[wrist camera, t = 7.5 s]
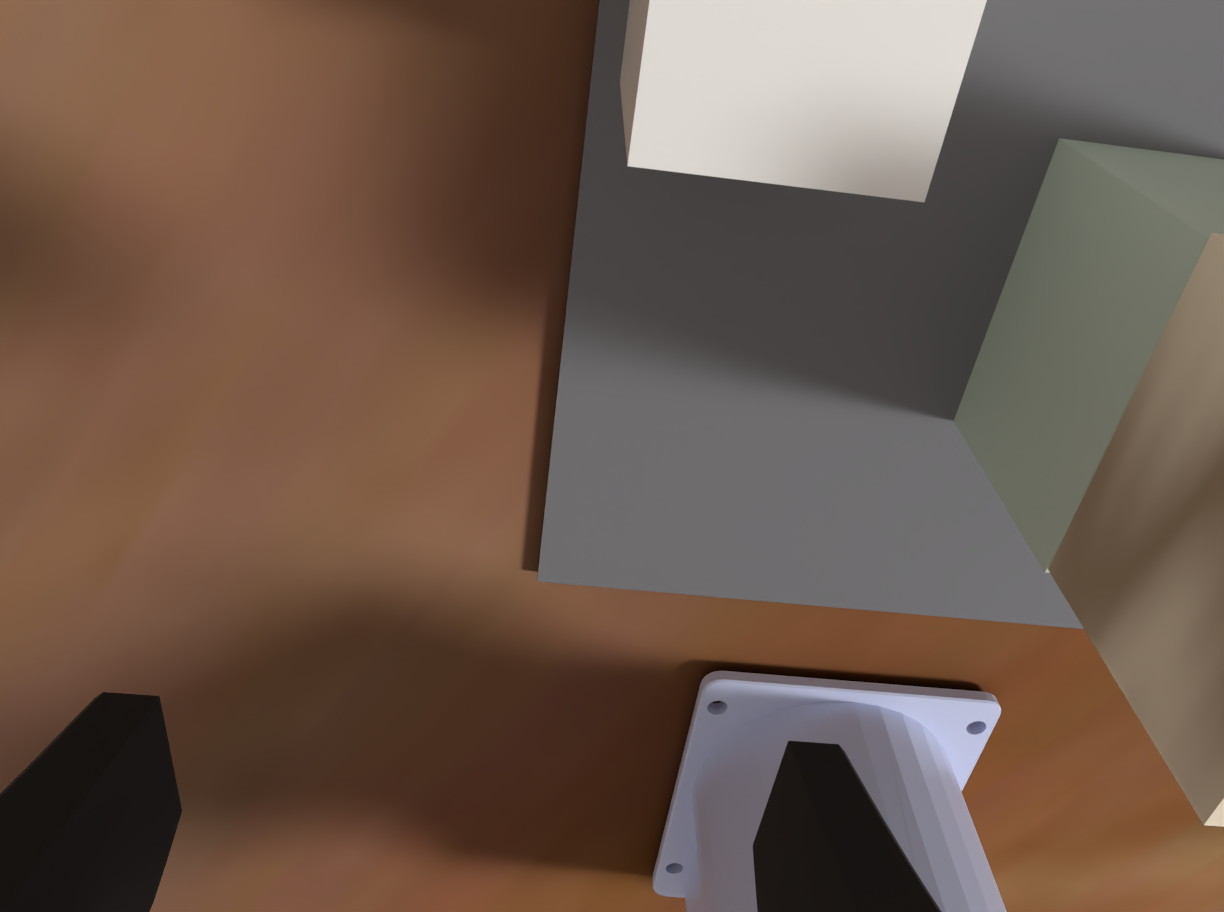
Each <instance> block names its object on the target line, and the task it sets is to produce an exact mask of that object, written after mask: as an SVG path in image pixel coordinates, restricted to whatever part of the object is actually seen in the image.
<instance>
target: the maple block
mask: <svg viewBox="0 0 1224 912" xmlns="http://www.w3.org/2000/svg"><path fill="white" fill-rule="evenodd" d="M1048 570H1049V572H1050V574H1051V575H1052V577H1053V579H1054V580H1055V582H1056V584H1057V585H1058V587H1059V589H1060V590H1061V592H1062V593H1063V595H1064V597H1065V598H1066V600H1067V602H1068V603H1069V605H1070V607H1071V608H1072V610H1073V612H1074V613H1075V615H1076V616H1077V618H1078V620H1079V621H1080V623H1081V625H1082V626H1083V628H1084V630H1085V631H1086V633H1087V635H1088V636H1089V638H1090V639H1091V641H1092V643H1093V644H1094V646H1095V648H1096V649H1097V651H1098V653H1099V654H1100V656H1101V657H1102V659H1103V661H1104V662H1105V664H1106V666H1107V667H1108V669H1109V671H1110V672H1111V674H1112V676H1113V677H1114V679H1115V680H1116V682H1117V684H1118V685H1119V687H1120V689H1121V690H1122V692H1123V694H1124V695H1125V697H1126V699H1127V700H1128V702H1129V703H1130V705H1131V707H1132V708H1133V710H1134V712H1135V713H1136V715H1137V717H1138V718H1139V720H1140V721H1141V723H1142V725H1143V726H1144V728H1145V730H1146V731H1147V733H1148V735H1149V736H1150V738H1151V740H1152V741H1153V743H1154V744H1155V746H1156V748H1157V749H1158V751H1159V753H1160V754H1161V756H1162V758H1163V759H1164V761H1165V763H1166V764H1167V766H1168V767H1169V769H1170V771H1171V772H1172V774H1173V776H1174V777H1175V779H1176V781H1177V782H1178V784H1179V786H1180V787H1181V789H1182V790H1183V792H1184V794H1185V795H1186V797H1187V799H1188V800H1189V802H1190V804H1191V805H1192V807H1193V808H1194V810H1195V812H1196V813H1197V815H1198V817H1199V818H1200V820H1201V822H1202V823H1203V825H1209V826H1223V827H1224V234H1218V233H1211V235H1210V237H1209V239H1208V242H1207V244H1206V246H1205V248H1204V250H1203V252H1202V254H1201V256H1200V258H1199V260H1198V262H1197V264H1196V266H1195V268H1194V270H1193V272H1192V274H1191V276H1190V279H1189V281H1188V283H1187V285H1186V287H1185V289H1184V291H1183V293H1182V295H1181V297H1180V299H1179V301H1178V303H1177V305H1176V307H1175V309H1174V311H1173V314H1172V316H1171V318H1170V320H1169V322H1168V324H1167V326H1166V328H1165V330H1164V332H1163V334H1162V336H1161V338H1160V340H1159V342H1158V344H1157V346H1156V349H1155V351H1154V353H1153V355H1152V357H1151V359H1150V361H1149V363H1148V365H1147V367H1146V369H1145V371H1144V373H1143V375H1142V377H1141V379H1140V381H1139V384H1138V386H1137V388H1136V390H1135V392H1134V394H1133V396H1132V398H1131V400H1130V402H1129V404H1128V406H1127V408H1126V410H1125V412H1124V414H1123V416H1122V418H1121V421H1120V423H1119V425H1118V427H1117V429H1116V431H1115V433H1114V435H1113V437H1112V439H1111V441H1110V443H1109V445H1108V447H1107V449H1106V451H1105V453H1104V456H1103V458H1102V460H1101V462H1100V464H1099V466H1098V468H1097V470H1096V472H1095V474H1094V476H1093V478H1092V480H1091V482H1090V484H1089V486H1088V488H1087V491H1086V493H1085V495H1084V497H1083V499H1082V501H1081V503H1080V505H1079V507H1078V509H1077V511H1076V513H1075V515H1074V517H1073V519H1072V521H1071V523H1070V526H1069V528H1068V530H1067V532H1066V534H1065V536H1064V538H1063V540H1062V542H1061V544H1060V546H1059V548H1058V550H1057V552H1056V554H1055V556H1054V558H1053V561H1052V563H1051V565H1050V567H1049V569H1048Z"/></svg>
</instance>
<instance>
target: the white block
mask: <svg viewBox="0 0 1224 912" xmlns="http://www.w3.org/2000/svg"><path fill="white" fill-rule="evenodd" d="M986 2H987V0H630V3H629V12H628V20H627V28H626V36H625V44H624V52H623V60H622V68H621V76H620V89H621V100H622V111H623V122H624V134H625V145H626V156H627V166H630V167H638V168H646V169H654V170H663V171H671V172H679V173H687V174H696V175H704V176H712V177H720V178H728V179H737V180H745V181H753V182H761V183H769V184H778V185H786V186H794V187H802V188H810V189H819V190H827V191H835V192H843V193H851V194H860V195H868V196H876V197H884V198H892V199H901V200H909V201H917V202H925V199H926V196H927V192H928V189H929V186H930V183H931V179H932V176H933V173H934V170H935V166H936V163H937V160H938V157H939V154H940V150H941V147H942V144H943V141H944V137H945V134H946V131H947V128H948V124H949V121H950V118H951V115H952V111H953V108H954V105H955V102H956V99H957V95H958V92H959V89H960V86H961V82H962V79H963V76H964V73H965V69H966V66H967V63H968V60H969V57H970V53H971V50H972V47H973V44H974V40H975V37H976V34H977V31H978V27H979V24H980V21H981V18H982V14H983V11H984V8H985V5H986Z"/></svg>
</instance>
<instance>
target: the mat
mask: <svg viewBox="0 0 1224 912" xmlns="http://www.w3.org/2000/svg"><path fill="white" fill-rule="evenodd" d="M629 3H630V0H599V8H598V17H597V27H596V36H595V45H594V54H593V64H592V73H591V82H590V92H589V101H588V110H587V120H586V129H585V138H584V148H583V157H582V166H581V176H580V185H579V194H578V203H577V213H576V222H575V231H574V241H573V250H572V259H571V269H570V278H569V287H568V297H567V306H566V315H565V325H564V334H563V343H562V352H561V362H560V371H559V380H558V390H557V399H556V408H555V418H554V427H553V436H552V446H551V455H550V464H549V473H548V483H547V492H546V501H545V511H544V520H543V529H542V539H541V548H540V557H539V567H538V577H537V581H538V582H549V583H561V584H573V585H584V586H596V587H607V588H619V589H630V590H642V591H653V592H665V593H676V594H688V595H699V596H711V597H722V598H734V599H745V600H757V601H768V602H780V603H792V604H803V605H815V606H826V607H838V608H849V609H861V610H872V611H884V612H895V613H907V614H918V615H930V616H941V617H953V618H964V619H976V620H988V621H999V622H1011V623H1022V624H1034V625H1045V626H1057V627H1068V628H1080V629H1084V628H1083V626H1082V625H1081V623H1080V621H1079V620H1078V618H1077V616H1076V615H1075V613H1074V612H1073V610H1072V608H1071V607H1070V605H1069V603H1068V602H1067V600H1066V598H1065V597H1064V595H1063V593H1062V592H1061V590H1060V589H1059V587H1058V585H1057V584H1056V582H1055V580H1054V579H1053V577H1052V575H1051V574H1050V573H1046V572H1044V570H1043V569H1042V567H1041V565H1040V564H1039V562H1038V560H1037V559H1036V557H1035V555H1034V554H1033V552H1032V550H1031V549H1030V547H1029V545H1028V544H1027V542H1026V540H1025V539H1024V537H1023V535H1022V534H1021V532H1020V530H1019V529H1018V527H1017V525H1016V524H1015V522H1014V520H1013V519H1012V517H1011V515H1010V514H1009V512H1008V511H1007V509H1006V507H1005V506H1004V504H1003V502H1002V501H1001V499H1000V497H999V496H998V494H997V492H996V491H995V489H994V487H993V486H992V484H991V482H990V481H989V479H988V477H987V476H986V474H985V472H984V471H983V469H982V467H981V466H980V464H979V462H978V461H977V459H976V457H975V456H974V454H973V452H972V451H971V449H970V447H969V446H968V444H967V442H966V441H965V439H964V438H963V436H962V434H961V433H960V431H959V429H958V428H957V426H956V424H955V423H954V418H955V416H956V413H957V410H958V408H959V405H960V402H961V400H962V397H963V394H964V392H965V389H966V386H967V384H968V381H969V378H970V376H971V373H972V370H973V368H974V365H975V362H976V360H977V357H978V354H979V352H980V349H981V346H982V344H983V341H984V338H985V336H986V333H987V330H988V328H989V325H990V322H991V319H992V317H993V314H994V311H995V309H996V306H997V303H998V301H999V298H1000V295H1001V293H1002V290H1003V287H1004V285H1005V282H1006V279H1007V277H1008V274H1009V271H1010V269H1011V266H1012V263H1013V261H1014V258H1015V255H1016V253H1017V250H1018V247H1019V245H1020V242H1021V239H1022V237H1023V234H1024V231H1025V229H1026V226H1027V223H1028V220H1029V218H1030V215H1031V212H1032V210H1033V207H1034V204H1035V202H1036V199H1037V196H1038V194H1039V191H1040V188H1041V186H1042V183H1043V180H1044V178H1045V175H1046V172H1047V170H1048V167H1049V164H1050V162H1051V159H1052V156H1053V154H1054V151H1055V148H1056V146H1057V143H1058V140H1059V138H1061V139H1069V140H1077V141H1085V142H1092V143H1100V144H1108V145H1116V146H1123V147H1131V148H1139V149H1147V150H1154V151H1162V152H1170V153H1178V154H1185V155H1193V156H1201V157H1209V158H1216V159H1224V0H987V2H986V5H985V8H984V11H983V14H982V18H981V21H980V24H979V27H978V31H977V34H976V37H975V40H974V44H973V47H972V50H971V53H970V57H969V60H968V63H967V66H966V69H965V73H964V76H963V79H962V82H961V86H960V89H959V92H958V95H957V99H956V102H955V105H954V108H953V111H952V115H951V118H950V121H949V124H948V128H947V131H946V134H945V137H944V141H943V144H942V147H941V150H940V154H939V157H938V160H937V163H936V166H935V170H934V173H933V176H932V179H931V183H930V186H929V189H928V192H927V196H926V199H925V202H917V201H909V200H901V199H892V198H884V197H876V196H868V195H860V194H851V193H843V192H835V191H827V190H819V189H810V188H802V187H794V186H786V185H778V184H769V183H761V182H753V181H745V180H737V179H728V178H720V177H712V176H704V175H696V174H687V173H679V172H671V171H663V170H654V169H646V168H638V167H630V166H627V156H626V145H625V134H624V122H623V111H622V100H621V89H620V76H621V68H622V60H623V52H624V44H625V36H626V28H627V20H628V12H629Z"/></svg>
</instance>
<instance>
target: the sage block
mask: <svg viewBox="0 0 1224 912" xmlns="http://www.w3.org/2000/svg"><path fill="white" fill-rule="evenodd" d="M1211 233H1218V234H1224V159H1216V158H1209V157H1201V156H1193V155H1185V154H1178V153H1170V152H1162V151H1154V150H1147V149H1139V148H1131V147H1123V146H1116V145H1108V144H1100V143H1092V142H1085V141H1077V140H1069V139H1061V138H1059V140H1058V143H1057V146H1056V148H1055V151H1054V154H1053V156H1052V159H1051V162H1050V164H1049V167H1048V170H1047V172H1046V175H1045V178H1044V180H1043V183H1042V186H1041V188H1040V191H1039V194H1038V196H1037V199H1036V202H1035V204H1034V207H1033V210H1032V212H1031V215H1030V218H1029V220H1028V223H1027V226H1026V229H1025V231H1024V234H1023V237H1022V239H1021V242H1020V245H1019V247H1018V250H1017V253H1016V255H1015V258H1014V261H1013V263H1012V266H1011V269H1010V271H1009V274H1008V277H1007V279H1006V282H1005V285H1004V287H1003V290H1002V293H1001V295H1000V298H999V301H998V303H997V306H996V309H995V311H994V314H993V317H992V319H991V322H990V325H989V328H988V330H987V333H986V336H985V338H984V341H983V344H982V346H981V349H980V352H979V354H978V357H977V360H976V362H975V365H974V368H973V370H972V373H971V376H970V378H969V381H968V384H967V386H966V389H965V392H964V394H963V397H962V400H961V402H960V405H959V408H958V410H957V413H956V416H955V418H954V423H955V424H956V426H957V428H958V429H959V431H960V433H961V434H962V436H963V438H964V439H965V441H966V442H967V444H968V446H969V447H970V449H971V451H972V452H973V454H974V456H975V457H976V459H977V461H978V462H979V464H980V466H981V467H982V469H983V471H984V472H985V474H986V476H987V477H988V479H989V481H990V482H991V484H992V486H993V487H994V489H995V491H996V492H997V494H998V496H999V497H1000V499H1001V501H1002V502H1003V504H1004V506H1005V507H1006V509H1007V511H1008V512H1009V514H1010V515H1011V517H1012V519H1013V520H1014V522H1015V524H1016V525H1017V527H1018V529H1019V530H1020V532H1021V534H1022V535H1023V537H1024V539H1025V540H1026V542H1027V544H1028V545H1029V547H1030V549H1031V550H1032V552H1033V554H1034V555H1035V557H1036V559H1037V560H1038V562H1039V564H1040V565H1041V567H1042V569H1043V570H1044V572H1046V573H1050V572H1049V570H1048V569H1049V567H1050V565H1051V563H1052V561H1053V558H1054V556H1055V554H1056V552H1057V550H1058V548H1059V546H1060V544H1061V542H1062V540H1063V538H1064V536H1065V534H1066V532H1067V530H1068V528H1069V526H1070V523H1071V521H1072V519H1073V517H1074V515H1075V513H1076V511H1077V509H1078V507H1079V505H1080V503H1081V501H1082V499H1083V497H1084V495H1085V493H1086V491H1087V488H1088V486H1089V484H1090V482H1091V480H1092V478H1093V476H1094V474H1095V472H1096V470H1097V468H1098V466H1099V464H1100V462H1101V460H1102V458H1103V456H1104V453H1105V451H1106V449H1107V447H1108V445H1109V443H1110V441H1111V439H1112V437H1113V435H1114V433H1115V431H1116V429H1117V427H1118V425H1119V423H1120V421H1121V418H1122V416H1123V414H1124V412H1125V410H1126V408H1127V406H1128V404H1129V402H1130V400H1131V398H1132V396H1133V394H1134V392H1135V390H1136V388H1137V386H1138V384H1139V381H1140V379H1141V377H1142V375H1143V373H1144V371H1145V369H1146V367H1147V365H1148V363H1149V361H1150V359H1151V357H1152V355H1153V353H1154V351H1155V349H1156V346H1157V344H1158V342H1159V340H1160V338H1161V336H1162V334H1163V332H1164V330H1165V328H1166V326H1167V324H1168V322H1169V320H1170V318H1171V316H1172V314H1173V311H1174V309H1175V307H1176V305H1177V303H1178V301H1179V299H1180V297H1181V295H1182V293H1183V291H1184V289H1185V287H1186V285H1187V283H1188V281H1189V279H1190V276H1191V274H1192V272H1193V270H1194V268H1195V266H1196V264H1197V262H1198V260H1199V258H1200V256H1201V254H1202V252H1203V250H1204V248H1205V246H1206V244H1207V242H1208V239H1209V237H1210V235H1211Z"/></svg>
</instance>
